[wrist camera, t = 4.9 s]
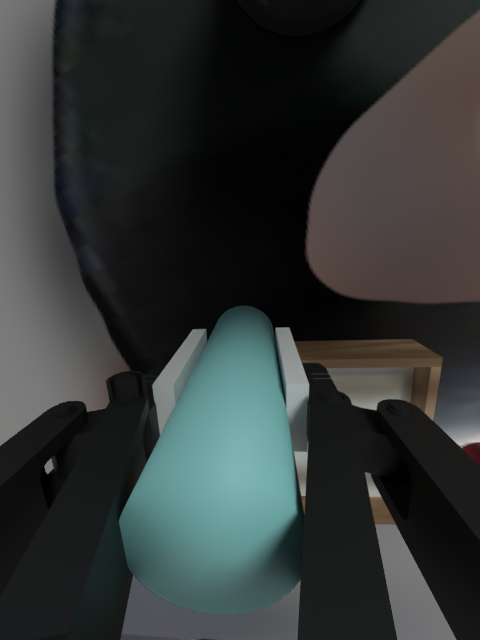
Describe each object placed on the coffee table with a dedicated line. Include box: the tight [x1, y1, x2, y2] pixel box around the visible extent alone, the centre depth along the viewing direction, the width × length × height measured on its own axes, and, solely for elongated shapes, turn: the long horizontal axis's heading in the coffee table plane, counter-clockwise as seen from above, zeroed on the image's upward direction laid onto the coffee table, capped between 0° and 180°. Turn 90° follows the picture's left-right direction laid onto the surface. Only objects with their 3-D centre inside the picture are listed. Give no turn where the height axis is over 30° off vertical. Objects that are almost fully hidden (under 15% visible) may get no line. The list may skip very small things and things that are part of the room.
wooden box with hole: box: [275, 339, 443, 525], centre depth 36 cm, size 22×22×6 cm
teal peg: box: [119, 306, 304, 615], centre depth 13 cm, size 4×4×14 cm
